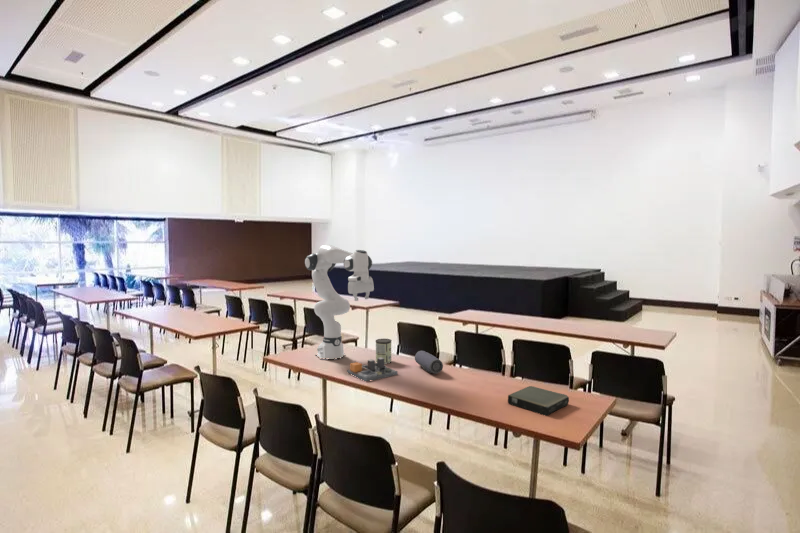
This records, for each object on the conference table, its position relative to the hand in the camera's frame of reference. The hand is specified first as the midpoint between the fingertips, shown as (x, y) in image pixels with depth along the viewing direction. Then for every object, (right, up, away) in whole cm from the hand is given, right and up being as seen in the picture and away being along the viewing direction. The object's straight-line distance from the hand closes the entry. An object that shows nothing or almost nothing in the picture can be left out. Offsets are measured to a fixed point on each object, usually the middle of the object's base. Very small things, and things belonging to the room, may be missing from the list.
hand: (361, 300), depth 271 cm
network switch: (+90, -47, -54) cm, 115 cm away
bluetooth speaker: (+40, -43, +1) cm, 59 cm away
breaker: (+12, -40, -2) cm, 42 cm away
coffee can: (+12, -42, +20) cm, 48 cm away
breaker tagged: (+6, -41, -6) cm, 42 cm away
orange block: (-3, -41, -6) cm, 41 cm away
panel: (+7, -43, -7) cm, 44 cm away
